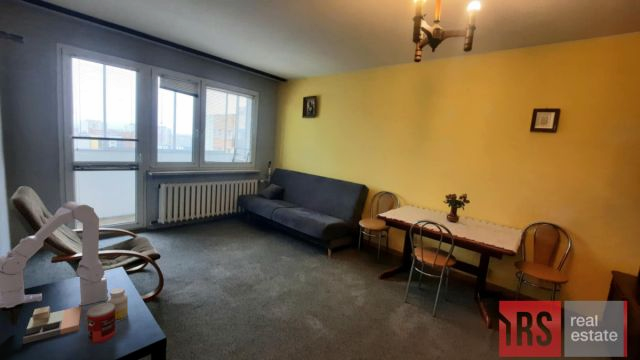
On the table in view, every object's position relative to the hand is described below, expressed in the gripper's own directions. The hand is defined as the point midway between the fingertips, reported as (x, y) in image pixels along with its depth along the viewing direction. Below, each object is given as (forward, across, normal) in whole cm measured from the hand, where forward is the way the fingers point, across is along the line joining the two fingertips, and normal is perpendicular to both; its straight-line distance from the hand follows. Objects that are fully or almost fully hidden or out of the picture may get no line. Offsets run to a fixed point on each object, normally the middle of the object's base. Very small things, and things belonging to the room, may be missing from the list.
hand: (14, 323), depth 102 cm
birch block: (+1, +7, 0) cm, 7 cm away
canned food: (+3, +25, -18) cm, 31 cm away
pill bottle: (+3, +30, -8) cm, 31 cm away
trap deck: (+3, +11, -3) cm, 12 cm away
